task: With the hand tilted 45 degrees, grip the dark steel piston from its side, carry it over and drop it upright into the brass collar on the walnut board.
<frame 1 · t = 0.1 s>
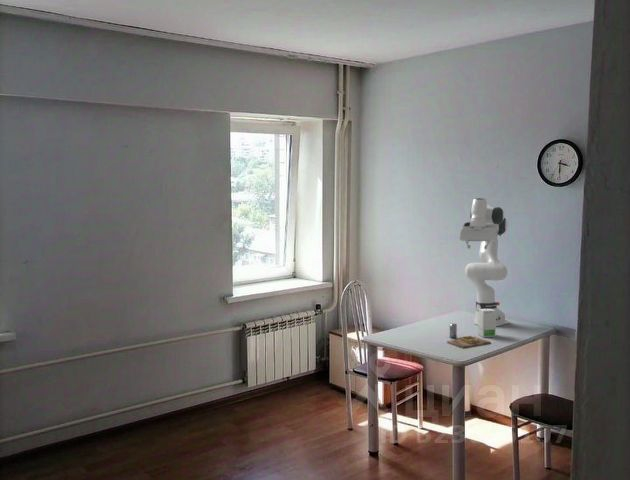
hand: (477, 248, 338), 52 cm above the table, tool tilted 20°, fingers open, 8 cm apart
steel piston: (453, 337, 344), on the table
collar board: (468, 343, 332), on the table
skincare box: (486, 336, 348), on the table
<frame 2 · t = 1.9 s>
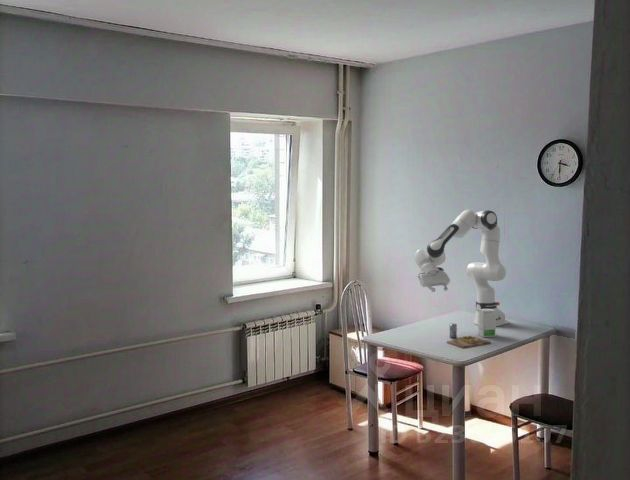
hand: (440, 290, 352), 26 cm above the table, tool tilted 45°, fingers open, 8 cm apart
nothing on the table moved.
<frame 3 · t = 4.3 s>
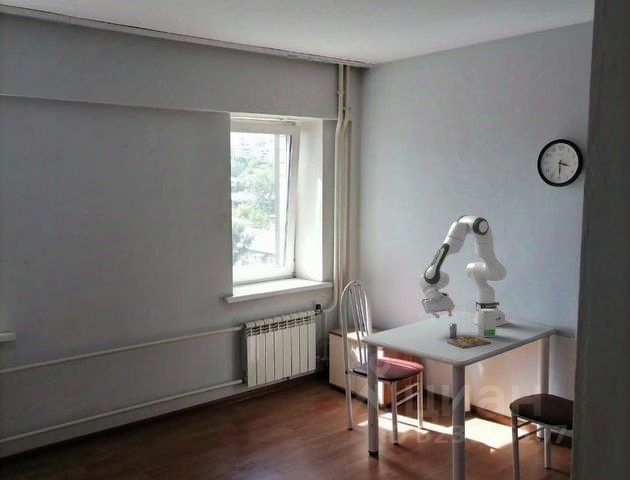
hand: (444, 316, 350), 11 cm above the table, tool tilted 45°, fingers open, 8 cm apart
nothing on the table moved.
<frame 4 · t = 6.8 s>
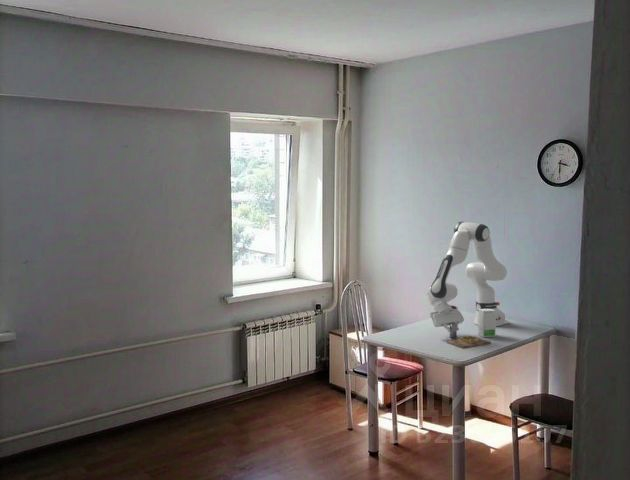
hand: (453, 330, 343), 4 cm above the table, tool tilted 45°, fingers closed on steel piston, 4 cm apart
steel piston: (453, 337, 344), on the table, touching gripper
everything else where it was.
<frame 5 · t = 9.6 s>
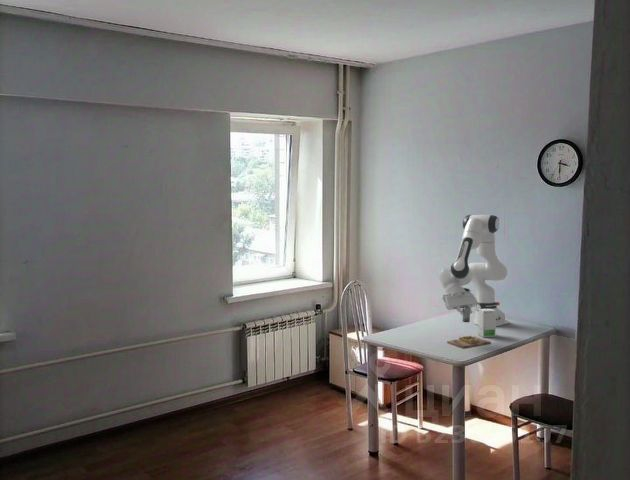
hand: (467, 313, 332), 17 cm above the table, tool tilted 45°, fingers closed on steel piston, 4 cm apart
steel piston: (466, 321, 333), point 12 cm above the table, touching gripper
everything else where it was.
when the fingers open (7 cm above the table, at t = 12.5 s): steel piston stays where it is, resting on collar board.
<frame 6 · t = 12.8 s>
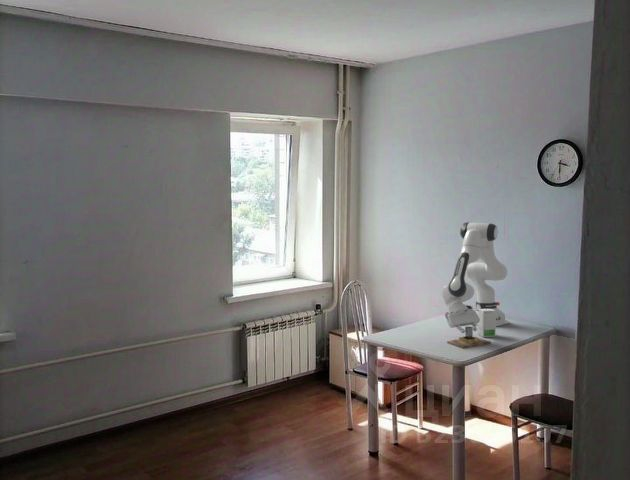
hand: (469, 331, 331), 7 cm above the table, tool tilted 45°, fingers open, 7 cm apart
steel piston: (468, 341, 332), point 1 cm above the table, touching collar board
everything else where it was.
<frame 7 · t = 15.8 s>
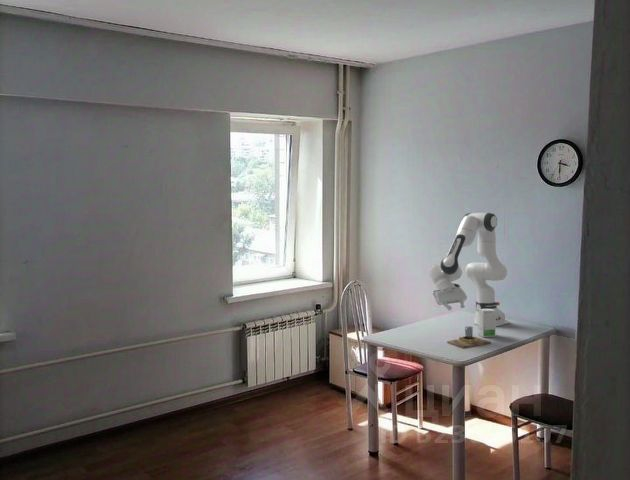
hand: (456, 308, 340), 18 cm above the table, tool tilted 45°, fingers open, 8 cm apart
nothing on the table moved.
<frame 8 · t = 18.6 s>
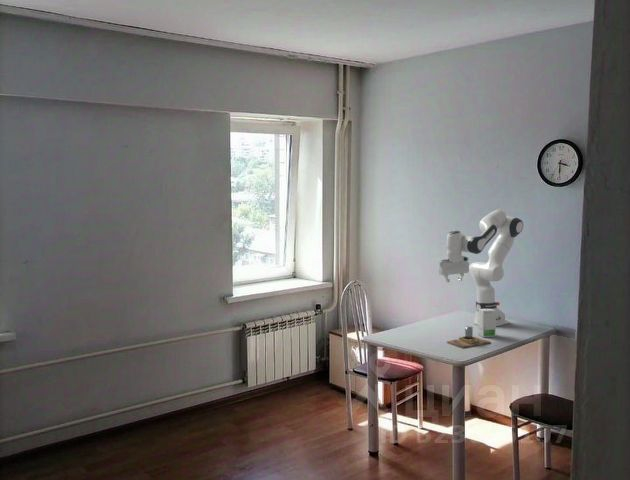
hand: (454, 281, 353), 31 cm above the table, tool pointing down, fingers open, 8 cm apart
nothing on the table moved.
at the end: steel piston 0.1 cm off-centre on the collar board, point 1.0 cm above the collar board's base; steel piston tilted 0°; the gripper is holding nothing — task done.
